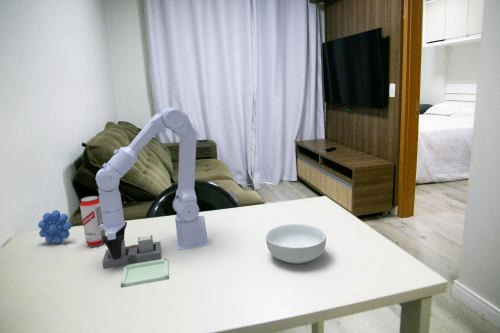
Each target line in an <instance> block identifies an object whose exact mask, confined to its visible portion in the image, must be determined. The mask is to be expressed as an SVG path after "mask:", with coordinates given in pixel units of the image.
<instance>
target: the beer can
mask: <svg viewBox="0 0 500 333" xmlns="http://www.w3.org/2000/svg"><path fill="white" fill-rule="evenodd" d="M79 207H80V214H81V215H80V216H81V220H82V225H83V226H82V227H83V230H84V238H85V242H86V245H87V246H89V247H91V248H95V247H99V246H102V245H105V244H104V243H103V241H102V238H103V237H104V236H107V233H106V231H105V230H104V229H103V228H102V229H100V228H99V226H100V224H103V219H102V213H101V207H100V201H99V196H97V195H91V196H86V197H83V198H81V199H80V204H79Z"/></svg>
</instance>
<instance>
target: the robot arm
mask: <svg viewBox="0 0 500 333" xmlns="http://www.w3.org/2000/svg"><path fill="white" fill-rule="evenodd" d="M167 129H168V130H170V131H172V133H174V135H175V136H176V137H177V138H179V144H178V145H179V146H178V148H179V149H178V175H177V176H178V177H177V179H178V181H177V189H176V191H175V197H174V199H173V201H172V208H173V210H174V211H175V212H176V215H175V217H174V219H175V228H176V231H175V232H176V250H177V251H183V250H189V249H194V248H195V249H196V248H201V247H206V246H208V233H207V226H206V225H207V224H206V219H205V216H204V215H199V213H200V208H199V205H198V203H197V201H198V200H197V199H198V198H197V195H196V191H195V182H196V181H195V180H196V179H195V178H196V158H197V131H196V130H195V128H194V125H193V124H192V122H191V121H190V118H189V115H188V114H187V113H186V112H184V110H183V109H181V108H179V107H175V106H174V107H171V106H164V107H162V108H161V109H159V111H158V113H155V114H154V115H153V116H152V117H151V118H150V119H149V120H148V122H147V123H146V124H144V126H143V128H142V129H141V130H140V132H139V133H137V135H136V136H135V137H134V138H133V140H132V141H131V142H130V144H129V145H128V146H122V147H119V149H118V148H116V149H114V151H113V155H112V157H111V158H110V159H109V160H108V162H107V163H106V162H104V163H103V164H102V167H103V168H100V169H99V170H98V171H97V173H96V175H95V181H96V185H97V187H98V188H97V191H98V194H99V195H98V199H99V201H100V207H101V213H102V219H103V224H100V226H99V228H100V229H102V228H103V229H104V230H105V232H106V236H104V237H103V238H102V241H103V243H104V244H103V245H105V246H106V247H107V250H108V249H109V251H110V254H111V256H112V258H113V259H119V258H121V246H122V240H123V239H124V240H125V232H126V227H127V224H128V222H127V221H125V217H124V210H123V204H122V198H121V197H122V196H121V195H122V194H121V192H120V189H119V186H120V179H122V178H123V177H124V176H125V175H126V174H127V173H128V171H130V169H131V168H132V167H133V166H134V165H135V163H137V161H138V153H140V151H141V150H142V149H143V148H144V147H145V146H146V145H147V144H148V143H149V142H150V141H151V140H152V139H153V138H154V137H155V135H157V134H162V133H165V132H167V131H168V130H167Z"/></svg>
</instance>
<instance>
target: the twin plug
mask: <svg viewBox="0 0 500 333" xmlns="http://www.w3.org/2000/svg"><path fill="white" fill-rule="evenodd" d="M153 242H154V239H153V234H150V235H143V236H138V238H137V245H138V246H139V253H138V254H140V253H147V252H153V251H154V246H153Z"/></svg>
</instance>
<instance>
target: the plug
mask: <svg viewBox="0 0 500 333" xmlns="http://www.w3.org/2000/svg"><path fill="white" fill-rule="evenodd" d="M126 247H127V246H126V242H125V238H124V239H123V240H122V246H121V257H122V256H128V255H127V254H126ZM109 253H110V251H109ZM110 258H112V256H111V254H110Z"/></svg>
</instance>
